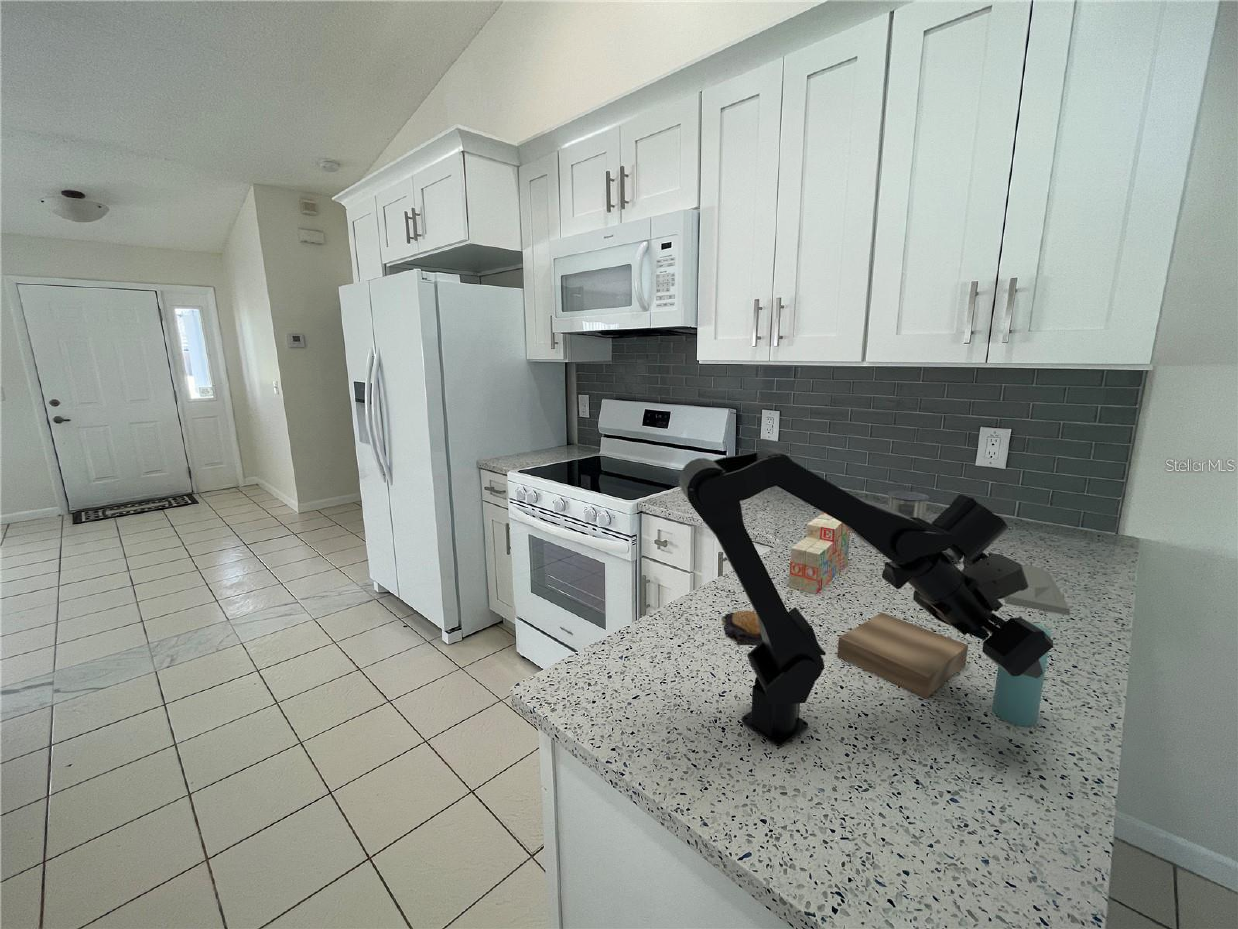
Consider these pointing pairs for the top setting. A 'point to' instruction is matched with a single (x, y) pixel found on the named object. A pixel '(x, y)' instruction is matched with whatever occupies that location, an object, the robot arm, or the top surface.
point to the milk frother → (910, 505)
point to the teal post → (1019, 694)
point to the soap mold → (1039, 592)
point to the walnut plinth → (903, 653)
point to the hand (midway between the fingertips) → (1011, 655)
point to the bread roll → (742, 627)
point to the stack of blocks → (819, 554)
